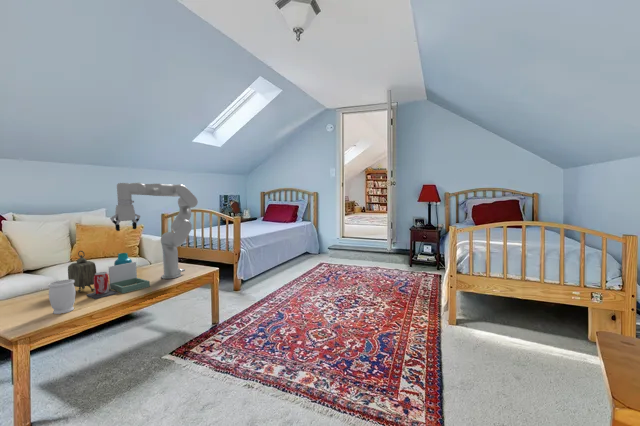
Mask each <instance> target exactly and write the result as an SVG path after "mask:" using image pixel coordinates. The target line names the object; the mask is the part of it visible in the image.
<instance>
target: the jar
mask: <svg viewBox="0 0 640 426" xmlns="http://www.w3.org/2000/svg"><path fill="white" fill-rule="evenodd" d="M74 282H75V280H69V279H61V280H55V281H52V282H50V283H48V285H47V287H48V288H49V290H48V298H49V299H48V300H49V303H50V306H51V309H52V310H53V311H52V314H53V315H61V313H63V314H67V313H69V312H72V311H74V309H75V307H74V304H75V301H76V294H77V293H76V287H75V286H74V284H73V283H74Z"/></svg>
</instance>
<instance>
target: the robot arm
mask: <svg viewBox="0 0 640 426" xmlns="http://www.w3.org/2000/svg"><path fill="white" fill-rule="evenodd" d="M116 193H117V195H116V196H117V204H116V206H115V213H114V214H115V215H112V216H111V217H110V218H109V219H110V220H111V222H112V223H113V224H114V225H115V231H116V232H120V230H121V225H120V223H121V222H128V221H131V222H132V224H131V225H132V229H133V230H137V223H138V222H139V221H140V218H141V215H140V214H137V213H136V211H135V207H134V204H133V203H135V200H133V197H132V195H133V196H136V195H137V196H150V197H151V196H153V197H179V198H178V200H177V204H178V207H179V212H178V213H177V215H176V216H175V218H174V220H173V221H172V222H171V225H170V229H171V231H167V232H164V233H163V234H162V235H161V237H160V243H161V248H162V262H163V263H162V264H163V266H162V267H163V274H162V275H161V279H165V280H169V279H175V278H180V277H181V276H182V272H183V273H184V272H186V269H185V268H179V252H178V247H180V246H182V245H183V244H184V242H186V239H187V238H188V237H189V234H190V233H191V231H192V228H193V227H192V226H193V225H192V223H191V222H190V219H191V216H192V210H191V208H192V209H193V208H196V207H197V205H198V203H199V202H198V198H197V197H196V196H195V194H193V192H192V191H191V190H190V189H189V188H187V186H186V185H183V184H172V183H171V184H170V183H169V184H168V183H167V184H166V183H141V182H131V183H129V182H118V183H117V184H116ZM172 231H173V232H172Z"/></svg>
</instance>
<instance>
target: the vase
mask: <svg viewBox="0 0 640 426" xmlns="http://www.w3.org/2000/svg"><path fill="white" fill-rule="evenodd" d="M132 262H133V260H132V259H131V258H129V255H128V252H119V253H118V254H117V259H116V260H115V261H114V264H113V266H116V265H121V264H126V263H132Z"/></svg>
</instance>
